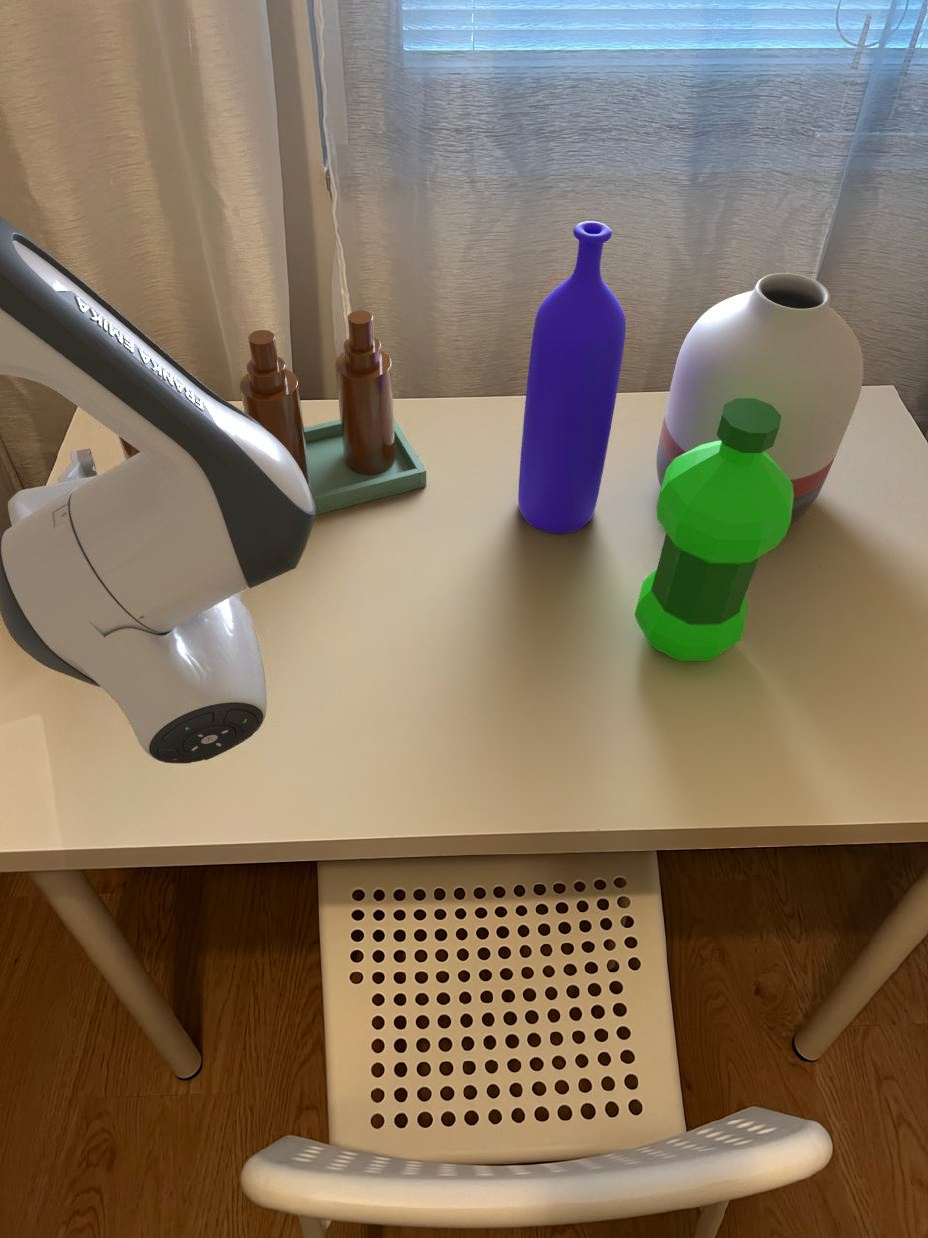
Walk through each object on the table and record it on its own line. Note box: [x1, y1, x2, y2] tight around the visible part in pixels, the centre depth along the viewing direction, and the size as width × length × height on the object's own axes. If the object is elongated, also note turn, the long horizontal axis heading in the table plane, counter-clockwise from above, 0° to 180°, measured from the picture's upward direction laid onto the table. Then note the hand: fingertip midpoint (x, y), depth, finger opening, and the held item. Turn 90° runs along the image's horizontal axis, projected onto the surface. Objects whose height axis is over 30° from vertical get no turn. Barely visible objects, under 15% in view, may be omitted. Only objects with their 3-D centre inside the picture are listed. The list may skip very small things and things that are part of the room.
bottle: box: [517, 220, 627, 534], centre depth 86 cm, size 8×8×30 cm
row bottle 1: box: [239, 329, 310, 484], centre depth 92 cm, size 6×6×17 cm
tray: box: [304, 417, 427, 516], centre depth 98 cm, size 32×12×2 cm, turn 113°
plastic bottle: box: [634, 398, 794, 662], centre depth 77 cm, size 10×10×25 cm
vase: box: [655, 272, 864, 527], centre depth 90 cm, size 17×17×24 cm
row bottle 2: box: [334, 309, 395, 475], centre depth 95 cm, size 6×6×17 cm
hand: (144, 444), depth 75 cm, fingers open, 8 cm apart
